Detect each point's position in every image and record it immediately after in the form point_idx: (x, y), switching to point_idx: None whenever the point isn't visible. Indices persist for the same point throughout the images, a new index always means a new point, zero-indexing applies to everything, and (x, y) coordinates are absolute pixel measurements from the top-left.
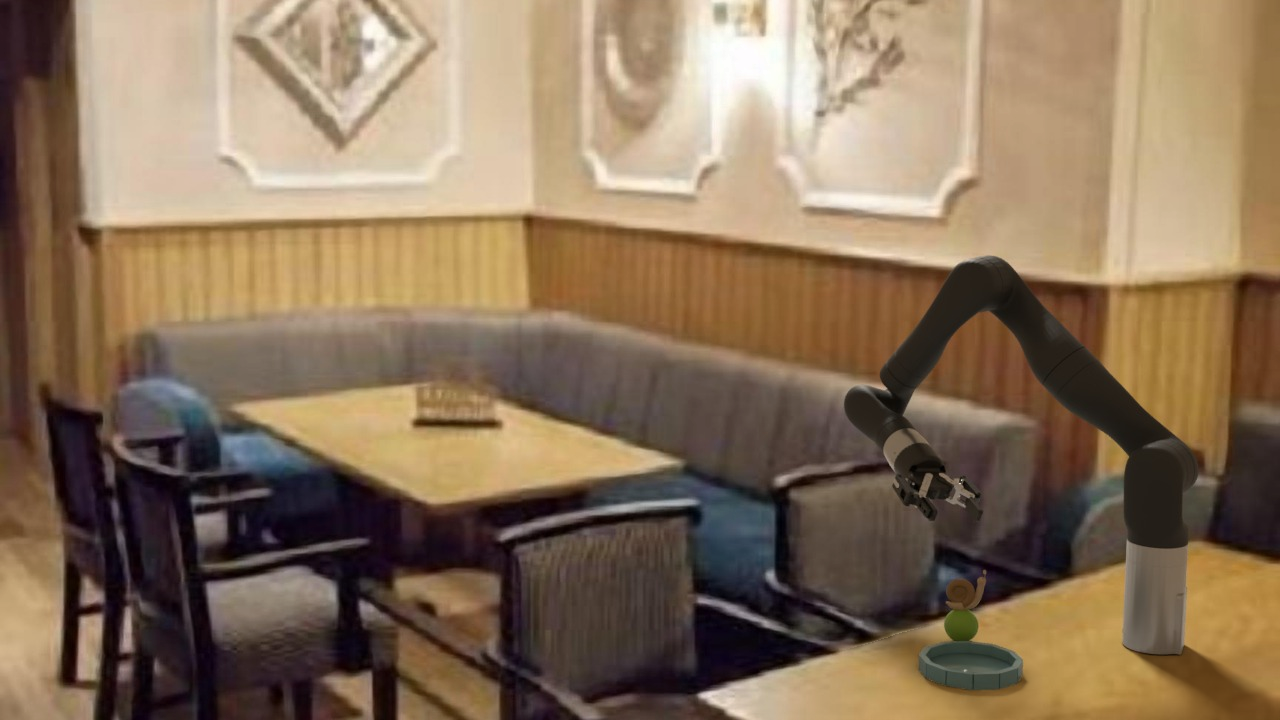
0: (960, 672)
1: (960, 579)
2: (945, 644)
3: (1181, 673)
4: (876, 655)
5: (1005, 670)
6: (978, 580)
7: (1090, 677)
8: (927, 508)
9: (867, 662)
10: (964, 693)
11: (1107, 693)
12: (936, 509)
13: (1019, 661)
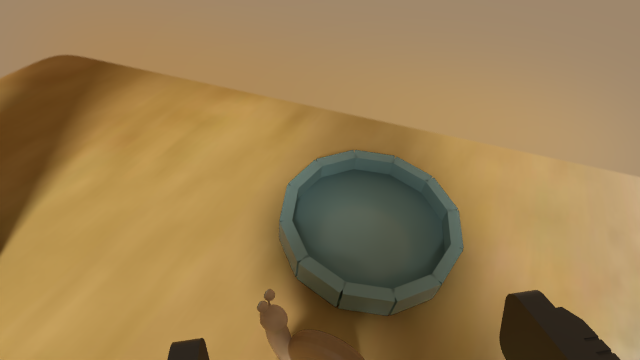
0: (412, 166)
1: (337, 341)
2: (395, 288)
3: (34, 149)
4: None
5: (340, 156)
6: (286, 314)
7: (186, 170)
8: (581, 325)
9: None
10: None
11: (208, 123)
12: (520, 297)
13: (298, 179)
